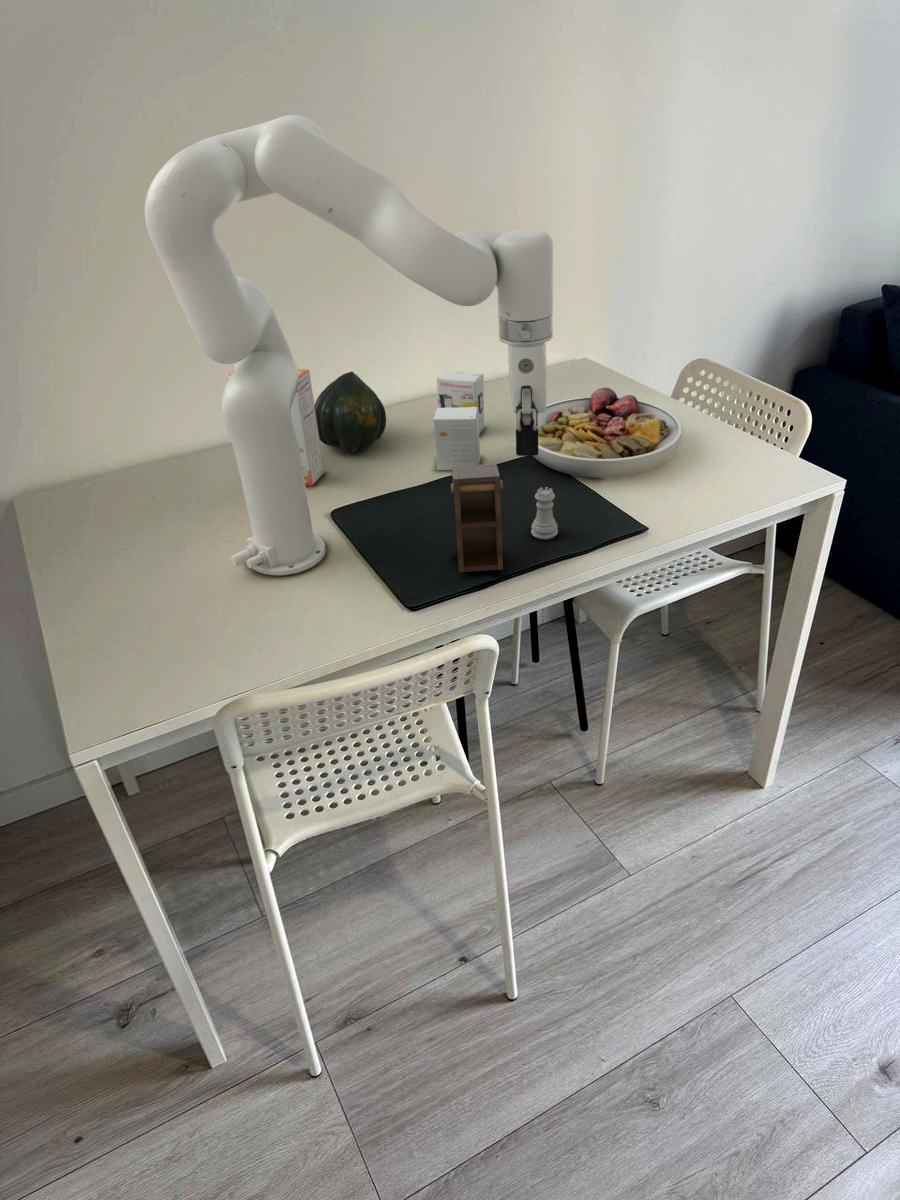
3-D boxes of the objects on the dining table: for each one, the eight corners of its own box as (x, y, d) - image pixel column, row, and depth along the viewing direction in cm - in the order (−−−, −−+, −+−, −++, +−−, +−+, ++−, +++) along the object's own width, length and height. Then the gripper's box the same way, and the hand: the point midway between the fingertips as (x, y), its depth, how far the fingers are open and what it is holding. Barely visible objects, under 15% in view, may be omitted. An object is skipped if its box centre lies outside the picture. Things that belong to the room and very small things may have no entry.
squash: (313, 443, 165) (355, 374, 162) (291, 419, 176) (329, 355, 174) (371, 475, 173) (411, 411, 170) (346, 451, 185) (383, 390, 182)
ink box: (437, 433, 178) (434, 378, 172) (446, 424, 182) (443, 369, 176) (478, 437, 176) (475, 381, 169) (485, 427, 180) (483, 372, 173)
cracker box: (245, 481, 165) (223, 375, 153) (260, 467, 170) (240, 363, 158) (312, 488, 161) (295, 379, 149) (325, 473, 166) (309, 367, 154)
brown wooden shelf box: (449, 466, 132) (450, 479, 126) (499, 463, 132) (502, 476, 126) (454, 557, 138) (456, 572, 133) (502, 553, 138) (505, 569, 133)
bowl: (684, 487, 154) (689, 446, 149) (515, 483, 158) (515, 444, 154) (675, 419, 178) (678, 382, 173) (528, 418, 183) (528, 382, 178)
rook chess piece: (536, 542, 141) (536, 499, 136) (527, 529, 144) (527, 487, 140) (562, 537, 142) (563, 494, 137) (552, 525, 145) (552, 482, 141)
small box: (480, 457, 168) (478, 406, 162) (478, 470, 164) (476, 418, 158) (439, 458, 169) (436, 406, 163) (436, 470, 164) (433, 418, 158)
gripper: (554, 346, 113) (553, 465, 123) (551, 307, 127) (550, 417, 137) (496, 348, 114) (500, 467, 123) (500, 309, 128) (503, 418, 138)
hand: (527, 440), depth 130 cm, fingers open, 9 cm apart
